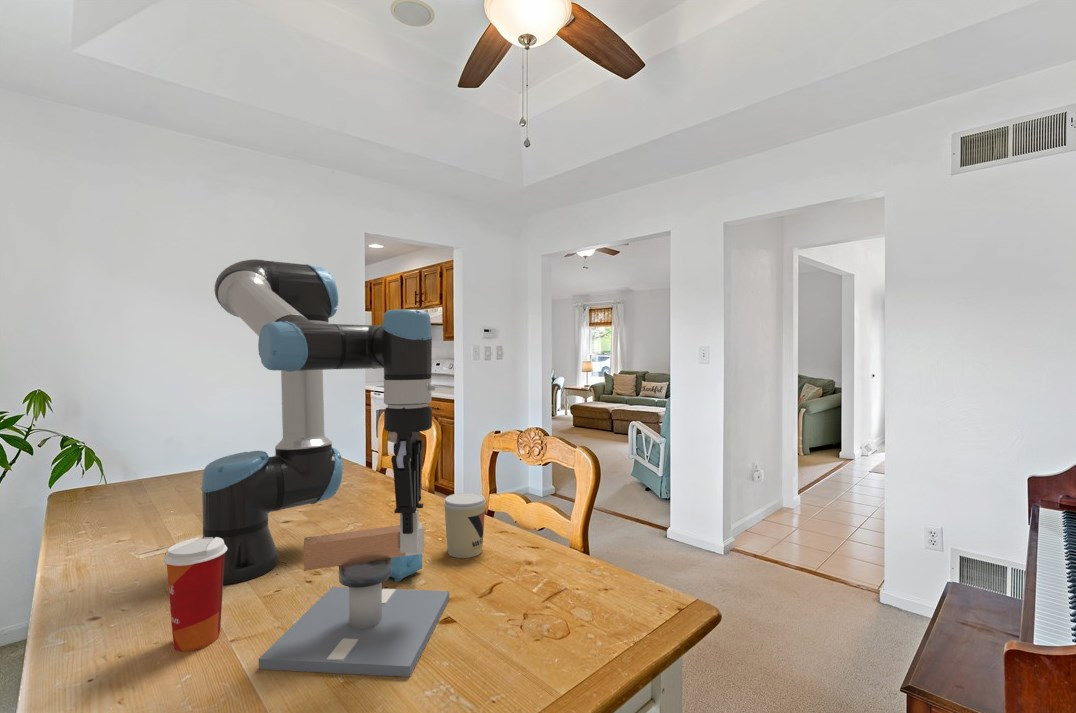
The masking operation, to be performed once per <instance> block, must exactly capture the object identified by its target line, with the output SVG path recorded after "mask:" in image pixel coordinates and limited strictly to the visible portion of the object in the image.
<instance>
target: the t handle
mask: <svg viewBox="0 0 1076 713" xmlns="http://www.w3.org/2000/svg"><path fill="white" fill-rule="evenodd" d="M418 522H419V550H418V552H417V553H400V524H399V525H391V526H385V527H375V528H368V529H360V530H352V531H345V532H337V533H329V534H323V535H314V536H307V537H304V538H303V539H304V540H303V571H304V572H306V571H313V570H318V569H319V570H320V569H325V568H326V569H327V568H332V567H338V582H339V583H340V584H341V585H342V586H343V587H353V588H361V587H368V586H373V585H376V584H379V583H381V582H382V583H383V582H385V581H387V580H388V579H390V578H391V577H390V576H391V558H392V557H398V556H410V555H417V554H422V555H423V554H425V528H424V526H423V524H422V522H421V521H418Z"/></svg>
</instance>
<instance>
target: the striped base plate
mask: <svg viewBox="0 0 1076 713" xmlns="http://www.w3.org/2000/svg"><path fill="white" fill-rule="evenodd" d="M382 583H383V582H381V583H379V584H376V585H373V586H368V587H361V588H353V587H347V586H331V588H329V589H328V590H327V592H326V593H324V595H322V596H321V597H320V599H318V600H317V601H316V602H314V604H313V605H312V606H311V607H310V608H309V609H308V610H307V611H306V612H305V613H304V614H303V615H302V616H301V617H300V618H299V619H297V621H295V622H294V624H293V625H292V626H291V627H290V628H288V629H287V631H285V632H284V633H283V634H282V635H281V636H280V637H279V638H277V640H276V641H275V642H274V643H273V644H272V645H271V646H270V647H269V648H268V649H267V650H266V651H265V652H264V653H263V654H262V655H260V657H259V658H258V670H265V669H266V670H267V669H268V670H269V671H285V672H286V670H287V672H305V671H306V672H307V673H322V674H323V673H324V674H325V673H326V674H327V673H328V674H344V675H345V674H346V675H347V674H348V675H361V676H362V675H366V676H367V675H368V676H383V677H385V676H386V677H403V678H405V677H406V678H410V677H411V676H412V673H413V671H414V669H415V668H416V665H417V663H418V662H419V659H420V658H421V656H422V654H423V652H424V650H425V648H426V646H427V645H428V642H429V640H430V638H431V636H432V634H433V633H434V630H435V628H436V627H437V625H438V623H439V620H440V618H441V617H442V615H443V613H444V611H445V609H446V607H447V605H448V602H449V601H450V591H449V590H434V589H433V590H431V589H429V590H428V589H408V588H407V589H404V588H402V589H401V588H382V586H383V584H382ZM289 670H290V671H289ZM306 672H305V673H306Z"/></svg>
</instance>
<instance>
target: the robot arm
mask: <svg viewBox="0 0 1076 713" xmlns="http://www.w3.org/2000/svg"><path fill="white" fill-rule="evenodd" d="M335 280H336V279H334V276H333V275H332V274H331V272H330V271H329V270H327V269H326V268H323V267H319V266H314V265H310V264H307V263H304V264H301V263H292V262H282V261H281V262H280V261H274V260H266V259H246V260H241V261H238V262H234V263H233V264H231V265H229V266H227V267H226V268H224V269H223V270H222V271H221V272H220V273H219V275H218V276H217V278H216V280H215V283H214V296H215V298H216V300H217V302H218V304H219V305H220V307H221V308H222V309H224V310H225V312H227V313H228V314H230V315H231V316H233V317H237V318H240V319H241V320H242V321H243V322H244V323H245V324H246V325H247V326H248V328H250V329H251V330H252V331H253V332H254V333H255V335H257V337H258V343H257V344H258V346H257V347H258V348H257V349H258V355H259V358H260V362H261V364H262V366H263V367H264V368H265V369H266V370H267V369H268V370H270V371H279V372H280V377H281V378H280V379H281V382H280V383H281V418H282V419H281V421H282V422H281V423H282V427H281V428H282V439H281V440H280V441H279V442H278V443H277V444H276V445H275V447H274V448H275V451H274V454H275V455H272V456H269V454H268V453H267V452H266V451H265V450H264V451H263V450H253V451H242V452H239V453H238V452H237V453H233V454H229V455H227V456H222V457H219V458H217V459H214V460H213V461H212V462H209V463H208V464H207V465H206V466H205V468H204V469H203V472H202V482H201V487H200V489H201V492H202V493H201V494H202V495H201V496H202V500H201V501H202V538H201V539H204V538H206V537H213V538H215V537H219V538H222V539H223V540H224V544H225V545H226V546H227V551H226V552H225V558H224V576H223V585H230V584H236V583H240V582H241V583H242V582H244V581H245V582H246V581H249V580H253V579H256V578H258V577H260V576H263V575H264V574H266V573H268V572H270V571H271V570H273V569H274V568H275V567H276V566H277V565H278V559H279V557H278V554H279V552H278V549H277V547H276V544H275V541H274V539H273V535H272V533H271V530H270V528H269V514H270V513H272V512H277V511H281V510H286V509H287V510H288V509H291V508H296V507H301V506H305V505H314V504H317V503H319V502H323V501H327V500H330V499H332V497H334V496H335V495H336V494H337V492H338V491H339V489H340V487H341V483H342V479H343V473H344V472H343V470H344V465H343V460H342V454H341V453H340V451H339V450H338V449H336V448H335V447H333V444H332V440H330V439H329V438H328V437H327V436H326V435H325V406H324V370H325V371H326V370H358V369H359V370H363V369H364V370H366V369H367V370H368V369H369V370H370V369H371V370H372V369H373V370H375V369H383V404H385V405H386V407H385V409H384V410H383V414H384V415H383V417H384V418H383V420H384V422H383V423H384V424H383V426H384V430H385V431H386V432H389V433H395V434H396V441H395V442H394V443H393V454H394V455H392V456H391V459H390V461H391V464H392V471H393V485H394V494H395V495H394V496H395V509H394V511H393V512H394V514H399V525H400V553H417V552H418V550H419V522H420V521H419V509H423V508H424V503H420V502H421V501H422V474H423V454H424V448H425V444H424V441H423V439H421V436H420V432H425V431H428V430H431V429H432V427H433V408H432V407H431V405H429V404H431V403H432V399H433V398H432V391H433V392H434V391H435V390H436V385H435V384H432V372H433V371H432V368H433V367H432V363H433V362H432V360H433V359H432V358H433V350H432V349H433V344H432V343H433V341H432V340H433V333H432V323H431V322H432V321H431V316H430V314H429V313H428V312H427V311H425V310H422V309H421V310H420V309H403V308H402V309H391V310H387V311H385V313H384V314H383V319H382V320H383V321H382V324H381V325H380V324H375V325H371V324H367V325H366V324H343V323H342V324H340V323H339V324H337V323H330V322H329V318H330V319H331V318H332V317H334V316H335V314H336V313H337V311H338V306H339V292H338V287H337V284H336V281H335Z"/></svg>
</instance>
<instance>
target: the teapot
mask: <svg viewBox="0 0 1076 713" xmlns="http://www.w3.org/2000/svg"><path fill="white" fill-rule="evenodd" d="M422 569H423V554H417V555H410V556H398V557H392V558H391V576H390V577H389V578H393V579H394V582H401V581H403V579H404V578H406V577H408V576H410V575H415V574H416V572H418V571H420V570H422Z"/></svg>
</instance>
